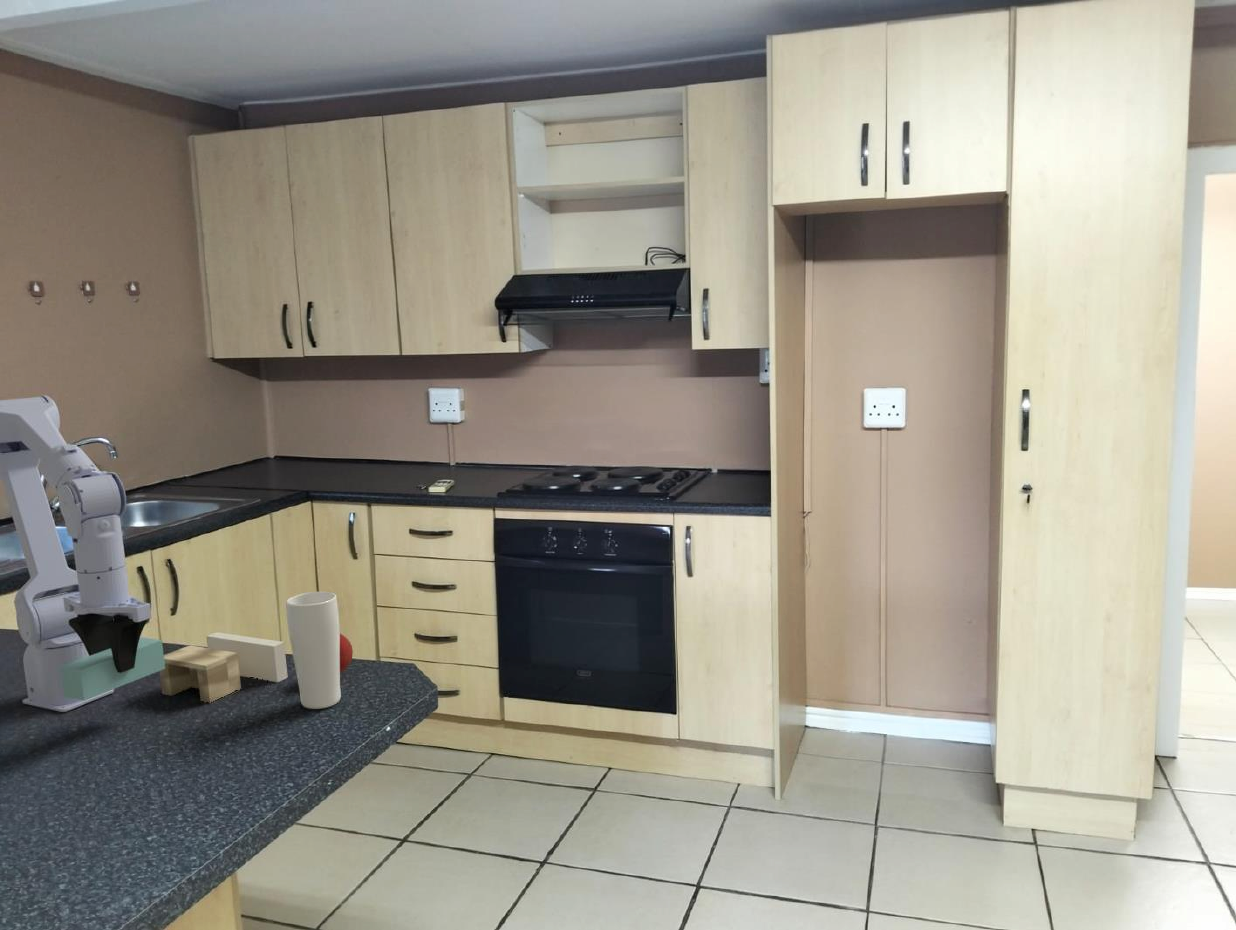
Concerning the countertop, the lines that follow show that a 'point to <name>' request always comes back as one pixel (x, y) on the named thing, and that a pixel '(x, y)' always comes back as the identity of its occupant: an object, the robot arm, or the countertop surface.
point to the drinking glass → (315, 647)
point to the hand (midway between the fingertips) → (114, 667)
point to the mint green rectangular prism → (109, 670)
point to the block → (201, 672)
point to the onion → (345, 653)
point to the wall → (253, 655)
